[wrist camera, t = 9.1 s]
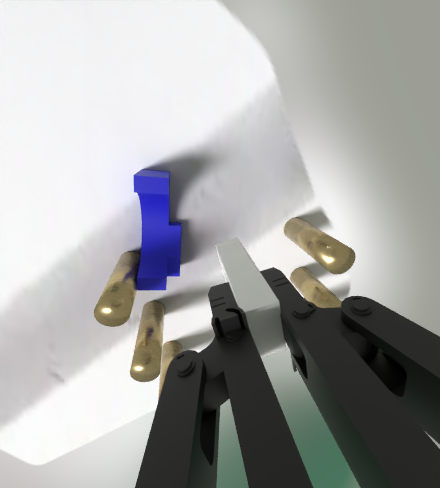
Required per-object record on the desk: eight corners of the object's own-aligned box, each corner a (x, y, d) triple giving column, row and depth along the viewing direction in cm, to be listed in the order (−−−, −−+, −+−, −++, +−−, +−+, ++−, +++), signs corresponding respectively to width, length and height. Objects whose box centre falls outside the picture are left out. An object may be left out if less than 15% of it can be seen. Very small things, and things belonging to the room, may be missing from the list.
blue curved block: (179, 264, 31) (179, 290, 26) (144, 264, 30) (137, 290, 25) (183, 172, 27) (184, 179, 21) (142, 169, 26) (133, 175, 21)
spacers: (115, 255, 29) (87, 305, 20) (302, 200, 31) (355, 224, 22) (165, 358, 37) (162, 427, 28) (312, 310, 38) (354, 361, 29)
